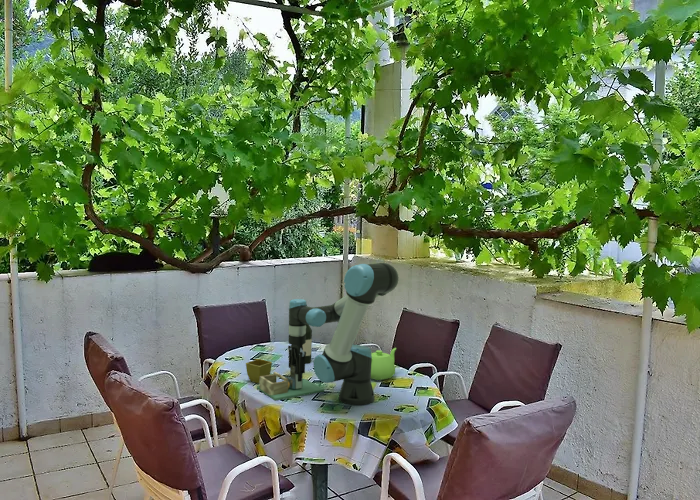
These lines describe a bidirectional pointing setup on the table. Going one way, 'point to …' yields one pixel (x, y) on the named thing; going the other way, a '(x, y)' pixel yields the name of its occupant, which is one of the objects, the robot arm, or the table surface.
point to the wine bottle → (308, 344)
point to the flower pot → (258, 369)
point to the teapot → (382, 365)
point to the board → (297, 391)
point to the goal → (273, 384)
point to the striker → (293, 376)
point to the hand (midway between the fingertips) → (296, 386)
